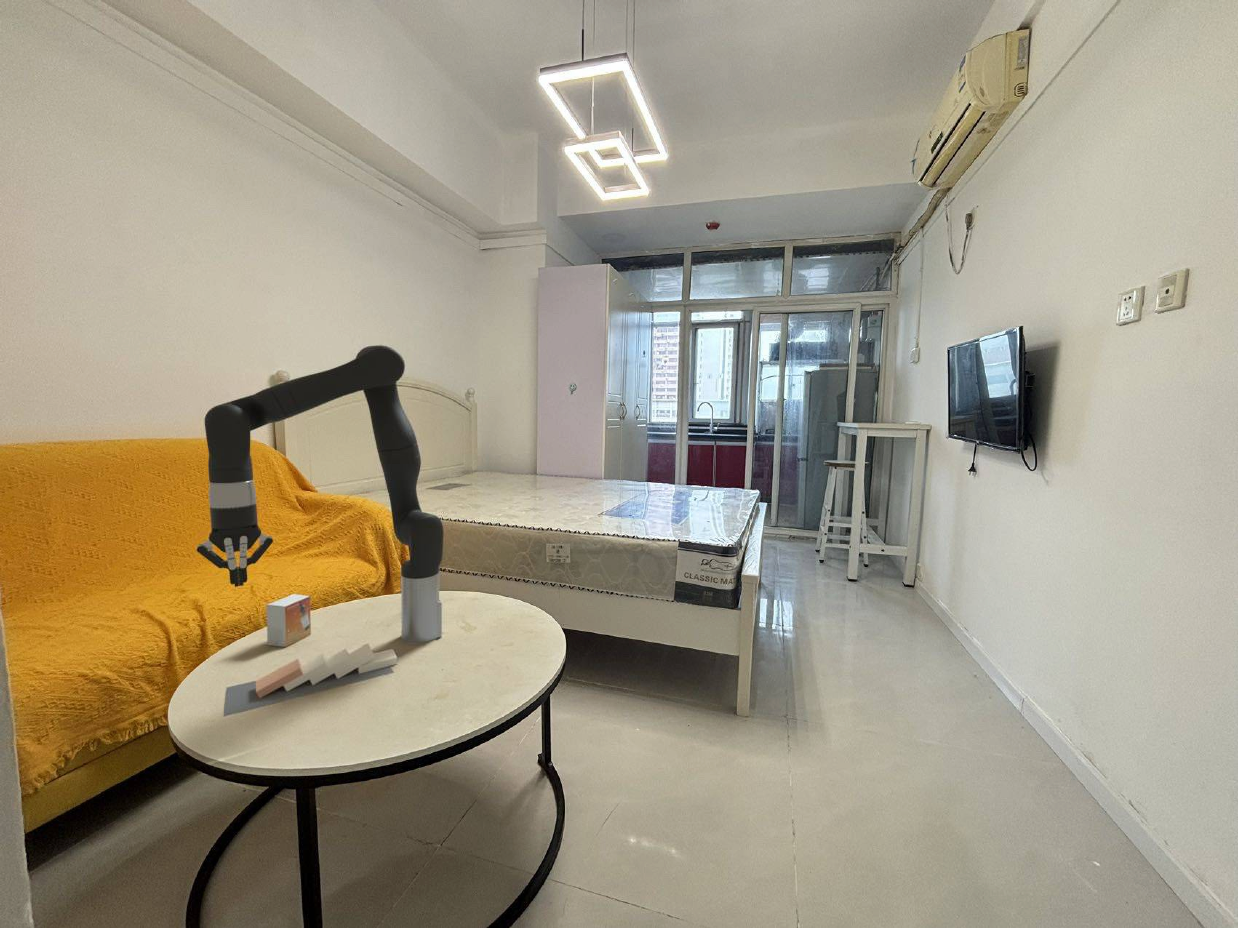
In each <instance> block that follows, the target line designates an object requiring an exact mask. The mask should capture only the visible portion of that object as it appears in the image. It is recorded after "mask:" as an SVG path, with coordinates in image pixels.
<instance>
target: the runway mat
mask: <svg viewBox="0 0 1238 928" xmlns="http://www.w3.org/2000/svg"><path fill="white" fill-rule="evenodd" d="M382 651H383V650H381V651H380V652H382ZM393 673H395V672H394V670H393V668H392V665H391V666H387V667H383V668H379V669H375V670H371V671H367V672H363V673H358V670H357V668H356V669H354V670H352V671H351V672H349V673H347V674H345V675H344V676H342V677H340V678H338V679H337V677H336V675H335V673H334V674H332V675H330V676H328V677H326V678H325V679H323V680H321V681H319V682H317V683H316V684H314V685H312V683H311V681H310V679H309V680H307V681H305V682H303V683H302V684H300V685H298V686H296V687H294V688H293V689H291V690H289V691H286V689H285V687H284V686H281V687H279V688H278V689H276V690H274V691H272V692H270V693H269V694H267V695H265V696H263V697H261V698H259V696H258V695H257V693H256V681H257V680H254V681H249V682H245V683H241V684H236V685H232V686H228V687H227V686H226V687H225V688H226V689H225V698H224V707H223V709H224V710H223V717H228V716H231V715H235V714H239V713H243V712H246V711H250V710H255V709H258V708H262V707H266V706H270V705H274V704H278V703H282V702H285V701H289V700H293V699H297V698H300V697H305V696H309V695H313V694H316V693H320V692H324V691H328V690H331V689H335V688H339V687H343V686H347V685H350V684H354V683H355V684H356V683H358V682H362V681H367V680H370V679H374V678H378V677H382V676H385V675H389V674H393Z"/></svg>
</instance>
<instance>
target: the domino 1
mask: <svg viewBox="0 0 1238 928" xmlns="http://www.w3.org/2000/svg"><path fill="white" fill-rule="evenodd" d="M301 665H302V663H301V661H300V660H299V658H297V659H295V660H293V661H291V662H289V663H287V664H285V665H283V666H282V667H279V668H278V669H276V670H274V671H273V672H271V673H268V674H267V675H265V676H263V677H260V678H259V679H257V680H255V681H256V693H257V695H258V696H259V698H261V697H263V696H265V695H267V694H269V693H270V692H272V691H274V690H276V689H278V688H279V687H281V686H283V685H285V684H287V683H289V682H290V681H292V680H294V679H296V678H298V677H300V676H301V675H303V672H302V667H301Z"/></svg>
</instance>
